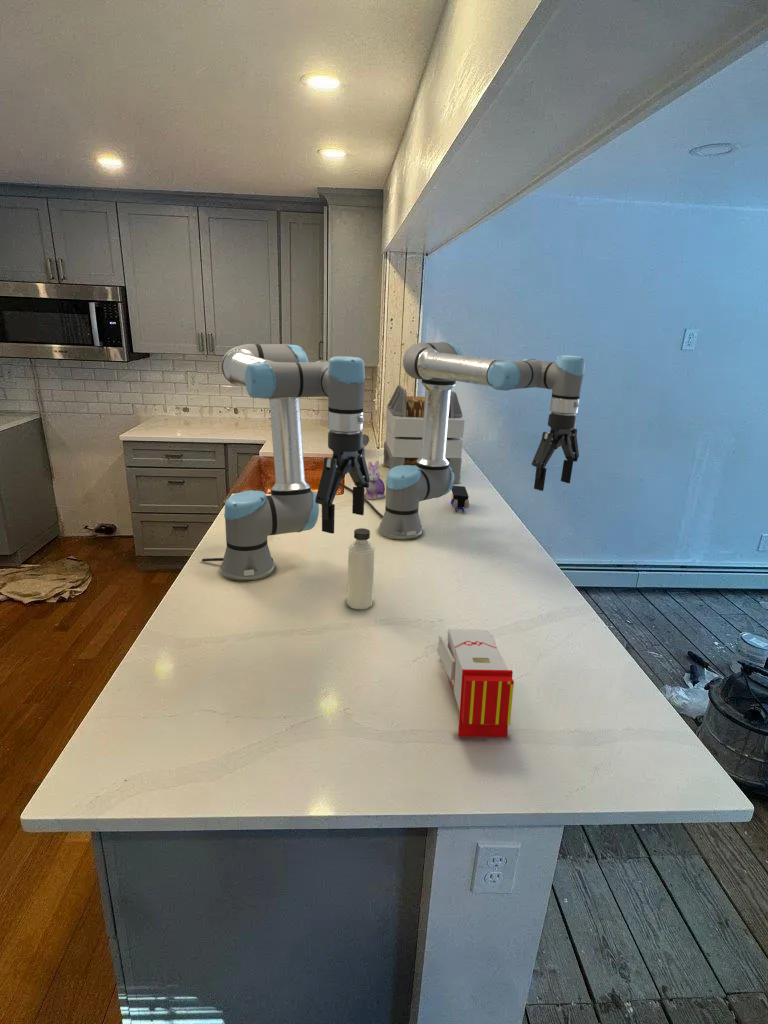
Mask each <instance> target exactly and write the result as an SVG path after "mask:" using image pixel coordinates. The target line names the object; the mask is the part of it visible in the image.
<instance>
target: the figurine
mask: <svg viewBox="0 0 768 1024" xmlns="http://www.w3.org/2000/svg"><path fill="white" fill-rule="evenodd" d="M367 465H368V466H367V467H368V473H369V477H370V482H369V483H368V484H369V487H368V488H365V491H366V492H365V493H364V497H366V498H365V499H367V500H377V499H378V500H379V499H382V498H384V497H385V493H386V485H385V483H384V481H383V480H382V479H381V473H380V471H379V466H380V461H379V460H377V461H376V462H375V463H374V464H373V462H372V461H368V464H367Z"/></svg>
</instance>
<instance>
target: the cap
mask: <svg viewBox="0 0 768 1024" xmlns="http://www.w3.org/2000/svg"><path fill="white" fill-rule="evenodd" d="M353 538H354V539H355V540H356V539H357V540H367V541H368V540H369V539H370V538H371V530H370V529H368V528H361V527H360V528H355V529H354V531H353Z"/></svg>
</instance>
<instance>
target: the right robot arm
mask: <svg viewBox="0 0 768 1024" xmlns="http://www.w3.org/2000/svg"><path fill="white" fill-rule="evenodd" d="M585 365H586V360H585V358H584V357H582V356H578V355H566V354H565V355H564V354H563V355H558V356H557V357H556V360H555V361H549V360H541V359H536V358H524V359H521V360H506V359H505V360H504V359H503V360H502V359H496V358H487V357H479V356H471V355H464V354H463V352H462V350H461V349H460V347H459V346H457V345H456V344H455V343H451V342H445V341H443V342H442V341H441V342H440V341H439V342H438V341H437V342H417V343H414V344H412V345H411V346H409V347H408V348H407V350H406V351H405V353H404V355H403V358H402V366H403V369H404V372H405V373H406V374H407V375H408V376H409V377H411V378H412V379H415V380H421V385H422V386H423V387H424V389H425V392H424V397H425V404H424V419H423V434H422V449H421V457H420V458H418V459H417V461H416V466H413V465H401V466H396V467H394V468H392V469H390V468H389V470H388V472H387V474H386V479H385V504H384V505H385V507H384V508H385V509H384V513H383V514H382V513H381V512H379V511H378V510H377V508H375V506H374V505H373V504H372V503H371V502H370V501H369V499H367V498H365V497H364V503H366V504H367V505H369V507H370V508H371V509H372V510H373V511H374V513H376V515H378V516H379V517H380V518H381V522H379V526H378V533H379V534H380V535H381V536H382V537H385V538H387V539H389V540H395V541H410V540H415V539H418V538H420V537H421V536H422V535H423V525H422V524H421V518H420V515H419V507H420V506H419V505H420V502H423V501H427V500H431V499H437V498H440V497H443V496H446V495H448V493H450V492H451V491H452V490H451V489H452V487H453V486H454V484H455V483H454V473H452V469H451V467H450V466H449V462H448V461H447V459H446V458H445V453H446V441H447V428H448V416H449V404H450V392H451V391H452V389H453V388H454V387H455V386H456V384H457V382H461V383H465V384H473V385H479V386H487V387H491V388H492V389H494V390H496V391H503V392H504V391H511V390H520V389H532V388H533V389H534V388H539V389H546V390H551V398H550V404H549V413H548V418H547V419H548V420H547V426H548V427H549V428H550V431H549V432H548V431H543V432H542V435H541V440H540V442H539V445H538V447H537V449H536V452H535V454H534V457H533V460H532V461H531V466H533V467H535V475H534V477H535V478H534V485H533V489H534V490H537V491H539V492H543V491H544V489H545V484H546V483H545V482H546V476H547V468H546V466H547V465H548V463H549V461H550V459H551V457H552V456H553V454H554V453H555V451H556V450H557V449H558V448H560V447H561V449H562V452H563V455H564V458H565V459H563V463H562V468H561V469H562V470H561V475H560V482H562V483H566V484H571V478H572V472H573V466H574V463H576V462H578V461H579V457H580V453H579V444H578V428H576V423H577V419H578V416H577V414H578V412H579V411H578V410H579V406H580V397H581V391H582V385H583V380H584V376H585ZM339 486H341V487H342V488H344V489H346V490H348V491H349V492H351V493H353V488H350V487H349V486H347V485H345V484H343V483H342V482H340V485H339Z"/></svg>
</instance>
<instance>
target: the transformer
mask: <svg viewBox="0 0 768 1024" xmlns="http://www.w3.org/2000/svg"><path fill="white" fill-rule="evenodd" d="M407 394H408V393H407V390H406V389H404V388H403V387H402V385H399V384H398V385H397V386H396V388H395V390H394V392H393V394H392V395H391V398H390V400H389V402H388V404H387V405H386V413H385V414H386V415H385V423H386V428H385V438H384V442H383V466H384V467H388V468H389V470H390V469H392V468H394V467H396V466H401V465H404V466H405V465H413V466H416V461H417V459H418V458H420V457H421V449H422V434H423V419H424V404H425V396H415V395H414V396H413V395H412V396H411V395H407ZM464 429H465V419H464V418H463V411H462V408H461V405H460V402H459V398H458V395H457V392H455V391H453V390H451V392H450V404H449V416H448V428H447V441H446V453H445V458H446V459H447V461H448V462H449V466H450V467H451V469H452V473H454V484H455V483H456V484H459V483H461V472H462V461H463V460H462V453H463V442H464V441H463V440H462V439H463V438H464V431H465V430H464Z"/></svg>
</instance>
